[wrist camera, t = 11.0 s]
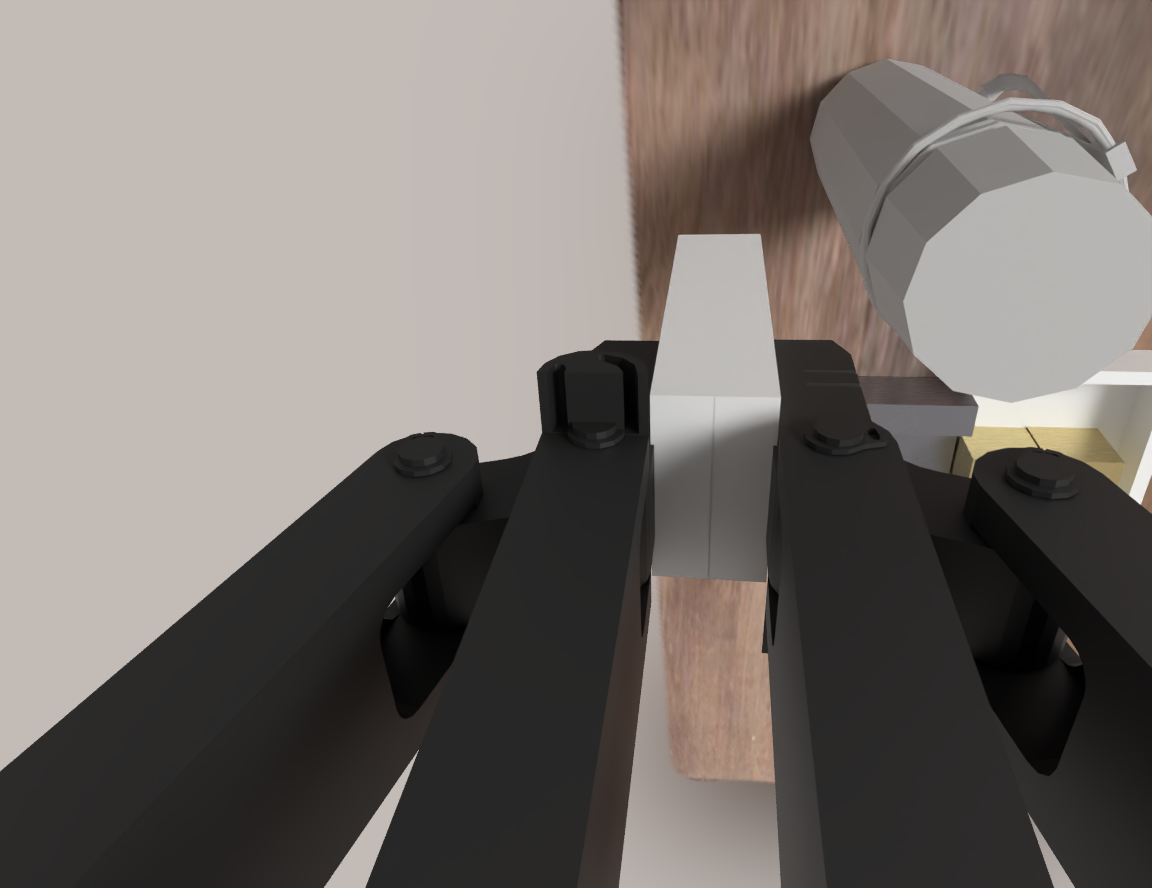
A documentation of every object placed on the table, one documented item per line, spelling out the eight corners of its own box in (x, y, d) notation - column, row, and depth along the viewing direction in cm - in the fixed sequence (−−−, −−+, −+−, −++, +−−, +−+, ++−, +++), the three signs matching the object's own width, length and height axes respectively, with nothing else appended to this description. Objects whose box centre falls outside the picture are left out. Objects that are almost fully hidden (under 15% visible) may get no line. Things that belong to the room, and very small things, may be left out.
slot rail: (761, 374, 51) (764, 401, 48) (962, 378, 49) (978, 406, 46) (753, 504, 56) (754, 536, 53) (934, 511, 54) (947, 545, 51)
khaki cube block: (1026, 426, 49) (1048, 460, 46) (1097, 428, 49) (1125, 463, 45) (1012, 480, 51) (1032, 517, 48) (1080, 483, 51) (1105, 520, 47)
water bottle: (848, 229, 46) (953, 460, 24) (779, 108, 43) (830, 248, 22) (1013, 132, 42) (1309, 305, 21) (948, -8, 39) (1211, 26, 18)
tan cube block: (956, 425, 50) (973, 459, 47) (1025, 427, 49) (1047, 461, 46) (945, 479, 52) (960, 515, 49) (1010, 481, 51) (1031, 518, 48)
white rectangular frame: (974, 348, 48) (988, 369, 45) (1163, 350, 46) (1188, 372, 44) (934, 535, 55) (944, 563, 52) (1097, 543, 53) (1115, 572, 51)
